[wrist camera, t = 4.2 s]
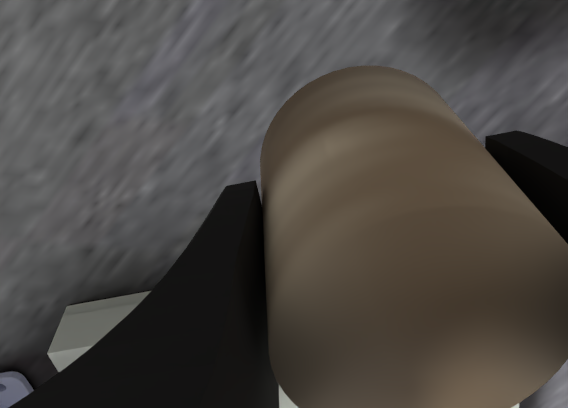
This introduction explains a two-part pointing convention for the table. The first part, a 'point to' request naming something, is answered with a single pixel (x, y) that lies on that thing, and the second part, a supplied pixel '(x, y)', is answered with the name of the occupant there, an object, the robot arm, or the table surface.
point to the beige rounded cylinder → (402, 254)
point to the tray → (102, 331)
